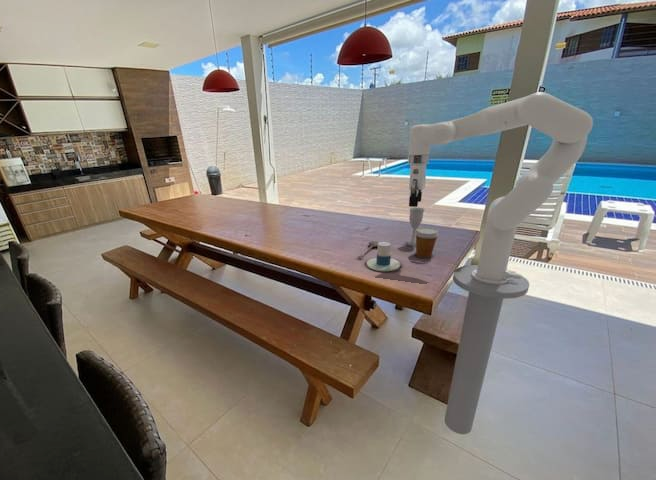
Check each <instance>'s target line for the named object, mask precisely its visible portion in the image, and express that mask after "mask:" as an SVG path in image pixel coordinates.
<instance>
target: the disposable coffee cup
mask: <svg viewBox="0 0 656 480" xmlns="http://www.w3.org/2000/svg"><path fill="white" fill-rule="evenodd" d="M438 236H439V231H438V229H436V228H433V227H427V226H426V227H425V226H424V227H423V226H422V227H418V228H416V229H415V240H416V245H415V251H416V252H415V255H416V256H417V257H419V258H423V259H425V258H427V259H428V258H431V257H432V255H433V254H432V253H433V251H434V248H435V245H436V241H437V238H438Z"/></svg>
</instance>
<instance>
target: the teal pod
mask: <svg viewBox="0 0 656 480" xmlns="http://www.w3.org/2000/svg"><path fill="white" fill-rule="evenodd" d="M376 258H377V260H376V263H377V264H378V265H381V266H387V265H390V260H391V258H392V253H391V252H390V255H388V256H381V255H378V254H377V253H376Z"/></svg>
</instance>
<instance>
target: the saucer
mask: <svg viewBox="0 0 656 480" xmlns="http://www.w3.org/2000/svg"><path fill="white" fill-rule="evenodd" d="M376 260H377V257H371V258H369V259H368V260H367V261H366V267H367V268H369V269H371V270H373V271H377V272H394V271H397V270H398V269H400V268H401V262H400V261H398V260H396V259H395V258H392V257H391V260H390V265H387V266H381V265H378V264H377V263H376Z"/></svg>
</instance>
